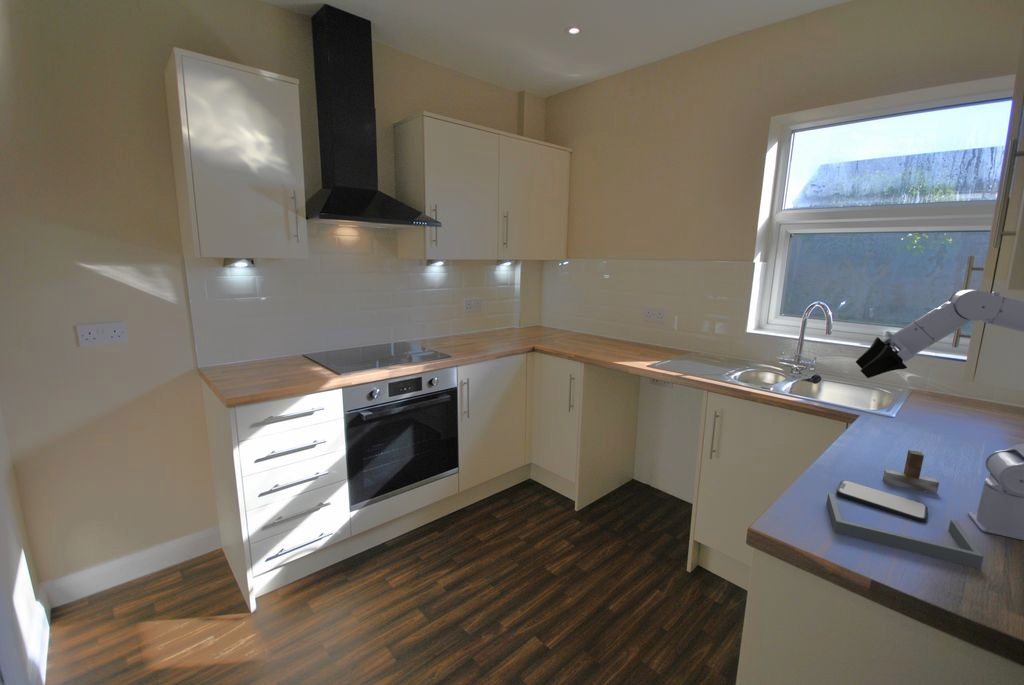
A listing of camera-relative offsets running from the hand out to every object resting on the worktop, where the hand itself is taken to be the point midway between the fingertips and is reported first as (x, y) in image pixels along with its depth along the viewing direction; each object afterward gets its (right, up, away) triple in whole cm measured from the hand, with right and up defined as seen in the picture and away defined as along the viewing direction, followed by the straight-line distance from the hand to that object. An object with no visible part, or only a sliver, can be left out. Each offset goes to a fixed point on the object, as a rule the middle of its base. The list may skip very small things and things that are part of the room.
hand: (861, 369), depth 106 cm
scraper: (+18, -29, +8) cm, 35 cm away
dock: (-2, -32, -11) cm, 34 cm away
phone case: (+5, -31, 0) cm, 31 cm away
